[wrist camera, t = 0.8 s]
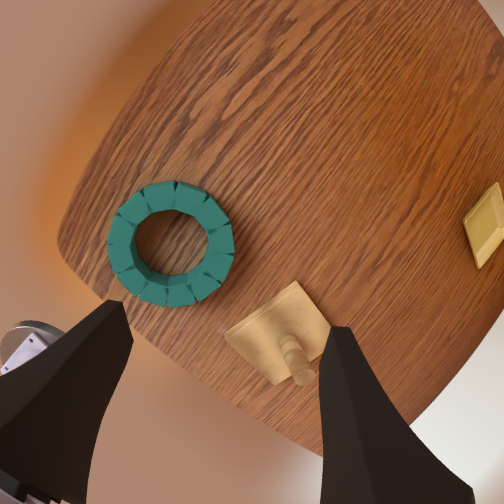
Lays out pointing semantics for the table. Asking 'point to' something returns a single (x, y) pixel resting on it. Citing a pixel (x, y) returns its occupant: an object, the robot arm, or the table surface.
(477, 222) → the saucer
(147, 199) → the ring
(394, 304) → the table surface
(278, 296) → the holder
